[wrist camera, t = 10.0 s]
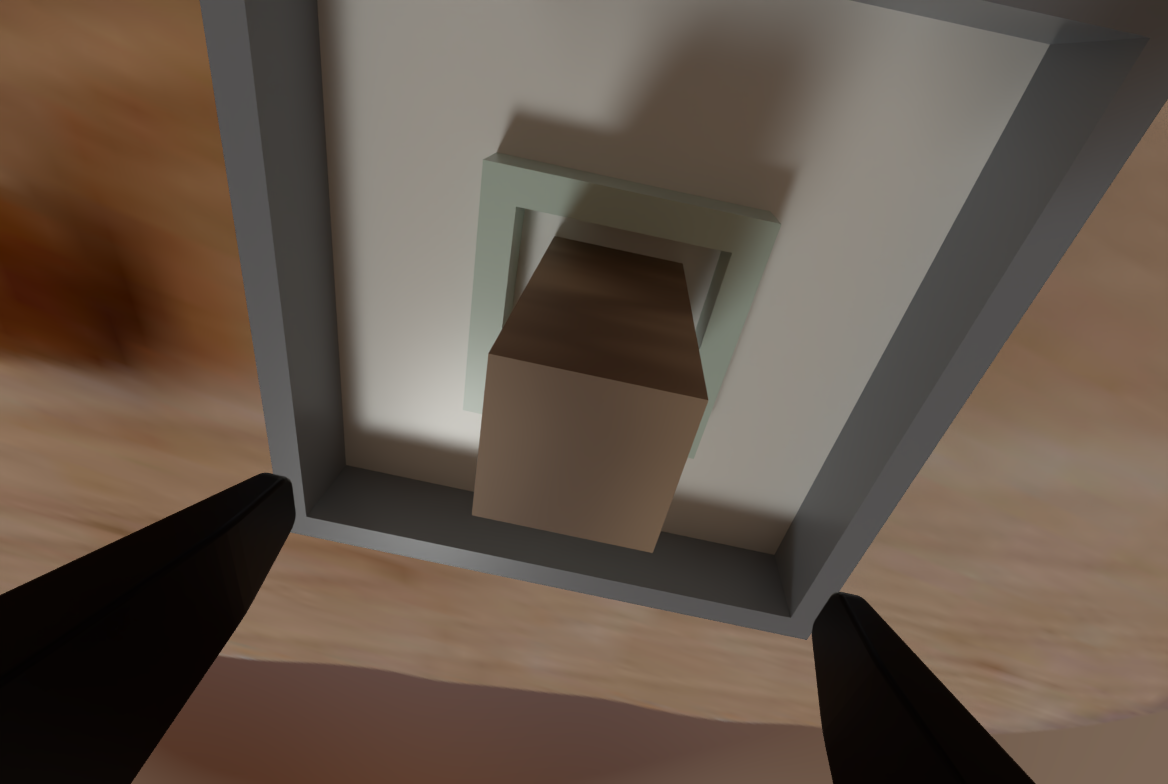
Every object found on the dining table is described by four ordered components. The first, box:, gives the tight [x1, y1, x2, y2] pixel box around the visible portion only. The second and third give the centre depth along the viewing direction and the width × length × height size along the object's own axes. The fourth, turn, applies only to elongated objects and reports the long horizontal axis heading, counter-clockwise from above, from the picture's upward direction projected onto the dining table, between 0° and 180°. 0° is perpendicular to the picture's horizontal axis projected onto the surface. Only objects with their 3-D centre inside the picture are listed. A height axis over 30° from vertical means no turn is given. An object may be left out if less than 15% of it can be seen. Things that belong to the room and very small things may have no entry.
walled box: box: [200, 0, 1168, 640], centre depth 17 cm, size 20×20×4 cm
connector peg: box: [472, 236, 708, 553], centre depth 14 cm, size 4×4×8 cm
